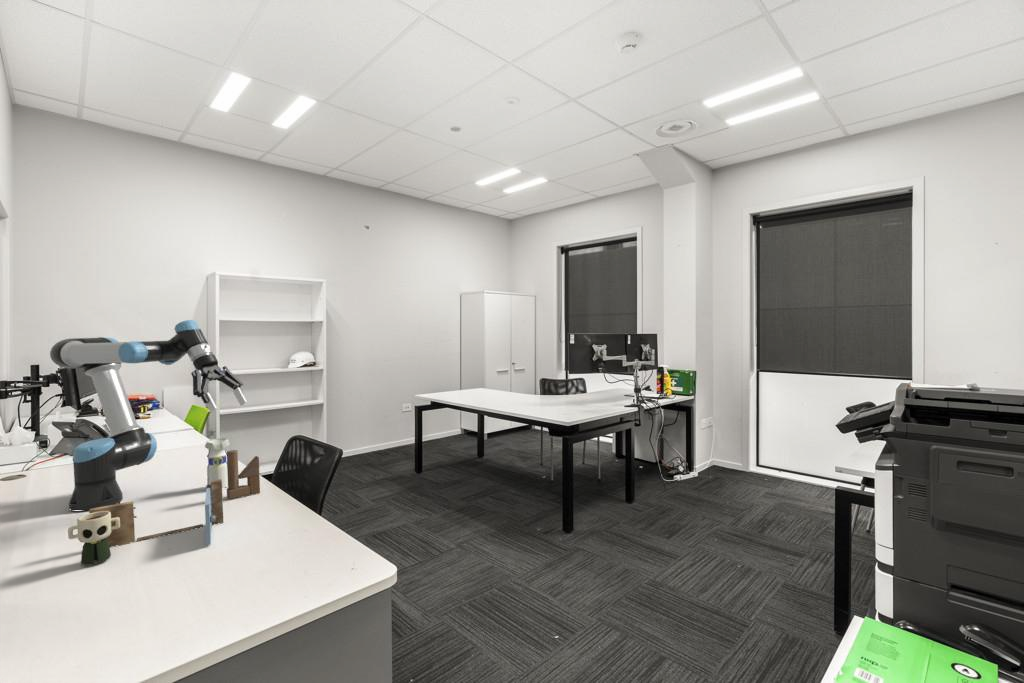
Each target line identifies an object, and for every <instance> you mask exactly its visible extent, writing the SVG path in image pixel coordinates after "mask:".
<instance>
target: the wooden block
mask: <svg viewBox="0 0 1024 683" xmlns="http://www.w3.org/2000/svg"><path fill="white" fill-rule="evenodd" d="M226 453H227V455H226V462H227V474H228V487H227V488H226V498H227V499H228V500H229V499H231V500H235V499H239V498H238V497H240V498H243V497H242V496H244V497H247V495H248V496H252V494H253V495H257V494H256V493H258V494H260V493H261V485H260V484H261V482H260V478H261V477H260V457H259V456H257V455H255V456H254V457H253V458H252V459H251V461H250V462H249V463H248V464H247V465H246V466H245V467H244V468H243V469H242V470H241V472H240V473H239V459H238V458H239V457H238V455H239V454H238V450H237V449H231V450H228V451H226ZM240 479H242V480H243V479H247V482H246V483H247V484H246V485H244V484H243V485H240V482H239V481H240ZM234 498H235V499H234Z"/></svg>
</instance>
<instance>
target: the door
mask: <svg viewBox="0 0 1024 683" xmlns="http://www.w3.org/2000/svg"><path fill="white" fill-rule="evenodd" d="M205 491H206V492H205V502H204V514H205V516H204V517H205V535H206V537H205V542H206V543H205V544H206V546H210V545H211V544H212V526H213V524H212V522H215V515H214V516H211V508H212V505H211V495H210V488H207V489H205Z"/></svg>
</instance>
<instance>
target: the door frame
mask: <svg viewBox="0 0 1024 683" xmlns="http://www.w3.org/2000/svg"><path fill="white" fill-rule="evenodd" d="M205 487H206V489H207V488H210V495H211V516H214V515H215V522H212V526H214V524H215V525H219V524H218V523H220V524H223V523H224V504H223V503H224V500H223V489H222V480H221V479H219V480H213V481H211V485H207V484H206V485H205ZM206 489H205V490H206ZM134 506H135V505H134V501H133V500H132V501H127V502H126V501H125V502H120V504H118V503H117V504H114V505H109V506H103V507H98V508H92V509H90V510H89V511H88V514H89V513H94V512H100V511H109V512H111V518H116V517H119V518H120V528H118V529H114V530H112V532H111V534H110V535H109V536H108V537H106V539H107V540H108V543H109V547H110V548H112V547H111V546H114V547H117V546H116V545H119V546H122V545H121V544H123V545H127V544H126V543H128V544H131V543H130V542H133V543H135V541H136V542H137V541H138V542H142V541H141V540H143V541H147V540H151V539H150V538H152V539H155V538H154V537H156V538H159V537H158V536H161V537H164V536H163V535H165V536H168V534H170V535H174V534H178V533H177V532H179V533H183V532H182V531H184V532H187V530H188V531H192V530H191V529H193V530H196V529H195V528H197V529H201V528H200V527H202V528H204V525H203V523H201V524H195V525H191V526H187V527H186V526H185V527H183V528H182V527H181V528H179V529H173V530H167V531H163V532H159V533H154V534H149V535H143V536H140V537H136V535H135V534H136V530H135V518H134V516H135V513H134V512H135V509H134ZM222 522H223V523H222ZM112 526H116V521H113V522H111V527H112ZM173 533H174V534H173ZM146 539H147V540H146Z"/></svg>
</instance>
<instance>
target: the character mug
mask: <svg viewBox="0 0 1024 683" xmlns="http://www.w3.org/2000/svg"><path fill="white" fill-rule="evenodd" d="M113 521H116V526H112V527H111V522H113ZM118 528H120V518H119V517H116V518H111V512H109V511H100V512H94V513H89V512H88V513H86V514H84V515H82V516H79V517H78V518H77V519H76V525H73V526H70V527H68V529H67V536H68V537H67V538H68V539H69V540H72V539H78V541H79V543H83V546H82V549H81V557H80V559H81V560H80V563H81V565H82V566H92V565H95V562H97V563H98V564H101V563H103V562H106V561H107V560H109V559H110V557H111V556H112V552H111V547H109V543H108V540H107V539H106V537H108V536H109V535H110V534H111V532H112V530H114V529H118ZM74 530H77V533H75V534H74Z"/></svg>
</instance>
